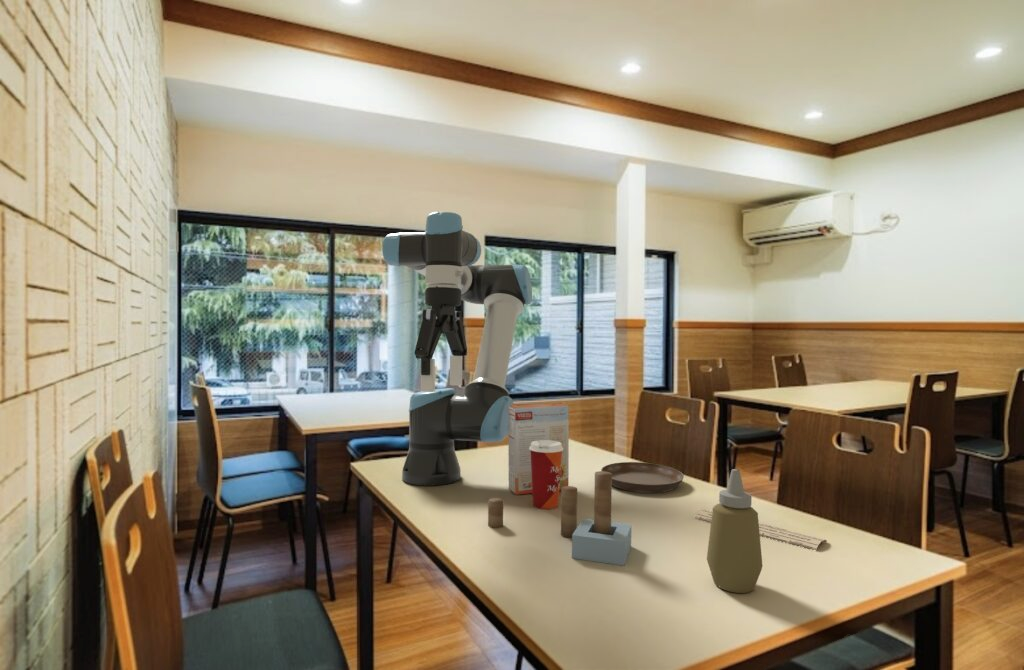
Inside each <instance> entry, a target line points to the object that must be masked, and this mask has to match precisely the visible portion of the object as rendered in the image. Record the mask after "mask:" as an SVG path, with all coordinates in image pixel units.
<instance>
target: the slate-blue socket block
mask: <svg viewBox="0 0 1024 670" xmlns="http://www.w3.org/2000/svg"><path fill="white" fill-rule="evenodd" d="M631 547H632V523H623V522H616V521H615V522H614V521H611V535H606V534H599V533H594V519H592V518H591V519H590V518H582V519H581V520H580V522H579V524H577V528H576V530H575V531H574V533H573V534H572V538H571V559H577V560H582V561H583V560H584V561H591V562H598V563H603V564H611V565H616V566H617V565H619V566H623V567H624V566H626V562H627V560H628V557H629V553H630V551H631Z"/></svg>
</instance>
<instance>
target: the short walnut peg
mask: <svg viewBox="0 0 1024 670" xmlns="http://www.w3.org/2000/svg"><path fill="white" fill-rule="evenodd" d="M487 508H488V509H487V513H488V515H487V526H488V527H489V528H491V527H492V529H499V528H503V526H504V500H503V499H502V498H497V497H495V498H494V497H493V498H490V499H488V503H487Z"/></svg>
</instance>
